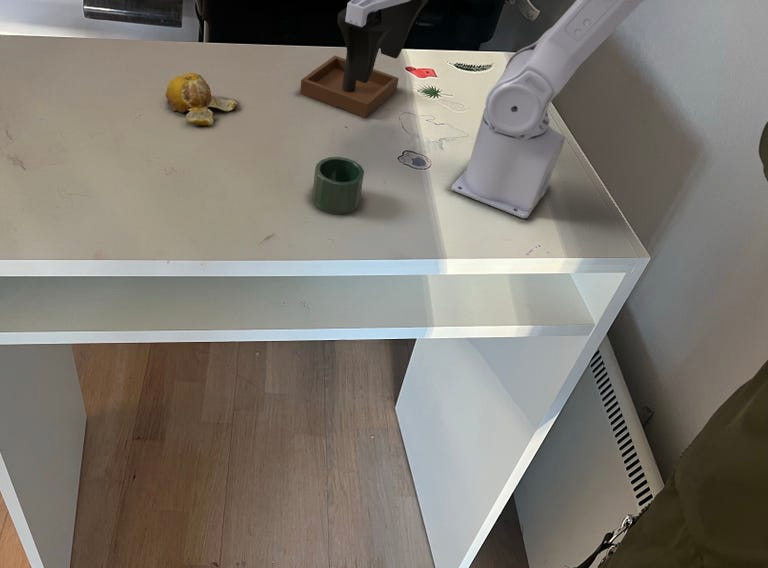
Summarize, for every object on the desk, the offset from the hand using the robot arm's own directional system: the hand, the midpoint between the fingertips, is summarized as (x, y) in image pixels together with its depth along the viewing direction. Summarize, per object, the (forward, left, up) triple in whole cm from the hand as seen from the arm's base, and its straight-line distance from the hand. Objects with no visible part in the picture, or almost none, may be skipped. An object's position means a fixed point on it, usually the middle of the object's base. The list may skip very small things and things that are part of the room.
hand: (374, 67), depth 87 cm
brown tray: (+8, -11, -10) cm, 17 cm away
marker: (+8, -11, -10) cm, 17 cm away
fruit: (+21, +6, -11) cm, 24 cm away
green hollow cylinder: (-3, +12, -10) cm, 16 cm away
